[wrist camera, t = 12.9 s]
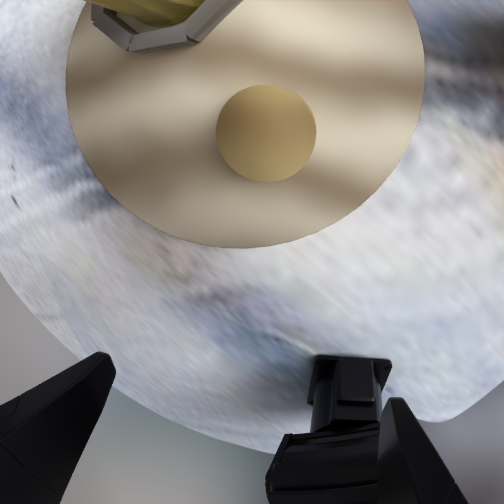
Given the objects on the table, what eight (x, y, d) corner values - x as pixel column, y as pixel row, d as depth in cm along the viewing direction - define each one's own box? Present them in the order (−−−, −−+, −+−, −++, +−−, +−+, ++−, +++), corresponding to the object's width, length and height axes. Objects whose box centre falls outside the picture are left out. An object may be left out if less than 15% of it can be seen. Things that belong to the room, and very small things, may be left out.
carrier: (399, 256, 20) (409, 280, 17) (93, 231, 24) (70, 247, 21) (405, -78, 9) (414, -99, 6) (79, -39, 13) (54, -47, 11)
